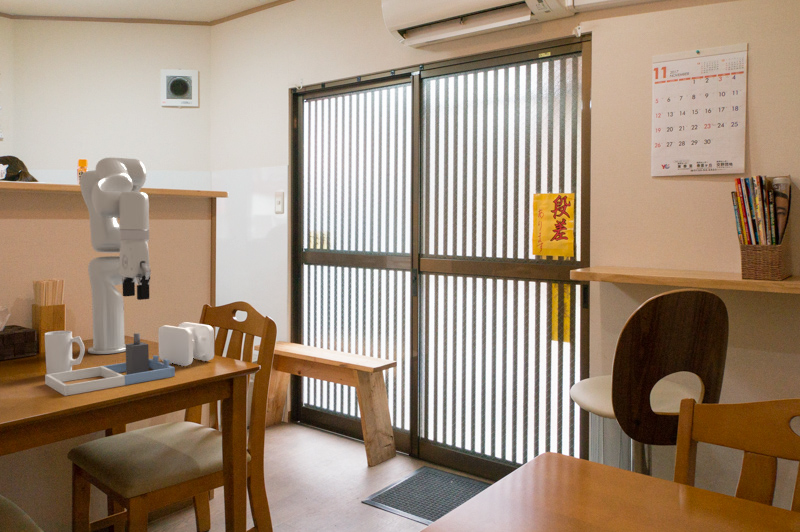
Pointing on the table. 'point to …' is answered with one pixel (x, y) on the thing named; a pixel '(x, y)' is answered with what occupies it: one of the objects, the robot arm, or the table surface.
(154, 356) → the shallow tray
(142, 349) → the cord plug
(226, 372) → the table surface
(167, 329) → the cable organizer
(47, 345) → the mug
